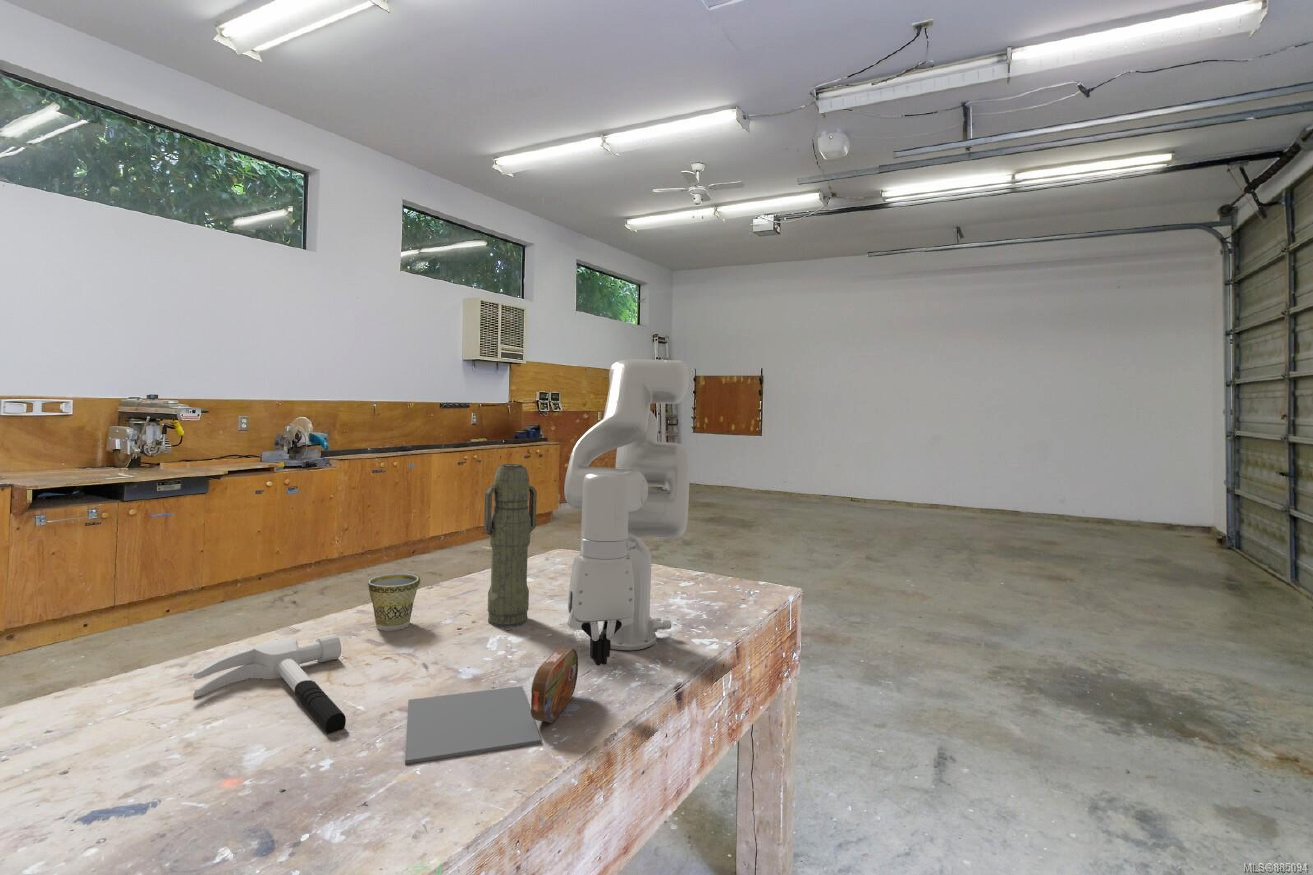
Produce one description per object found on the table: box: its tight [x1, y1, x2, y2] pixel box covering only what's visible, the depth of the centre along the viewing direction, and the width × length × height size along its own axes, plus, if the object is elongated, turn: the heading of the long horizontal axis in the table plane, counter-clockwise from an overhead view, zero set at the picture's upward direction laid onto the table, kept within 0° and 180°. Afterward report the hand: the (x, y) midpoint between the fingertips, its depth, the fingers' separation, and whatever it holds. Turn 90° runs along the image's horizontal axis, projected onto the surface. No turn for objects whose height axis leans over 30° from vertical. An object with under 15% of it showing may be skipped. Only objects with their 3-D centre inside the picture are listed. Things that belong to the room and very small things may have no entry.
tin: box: [530, 648, 579, 724], centre depth 98 cm, size 15×3×8 cm, turn 168°
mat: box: [404, 685, 542, 765], centre depth 94 cm, size 18×18×1 cm
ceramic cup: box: [367, 573, 421, 632], centre depth 134 cm, size 13×10×10 cm
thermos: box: [483, 463, 538, 628], centre depth 138 cm, size 9×12×35 cm
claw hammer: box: [192, 633, 347, 735], centre depth 99 cm, size 5×22×30 cm
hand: (599, 661), depth 100 cm, fingers closed
